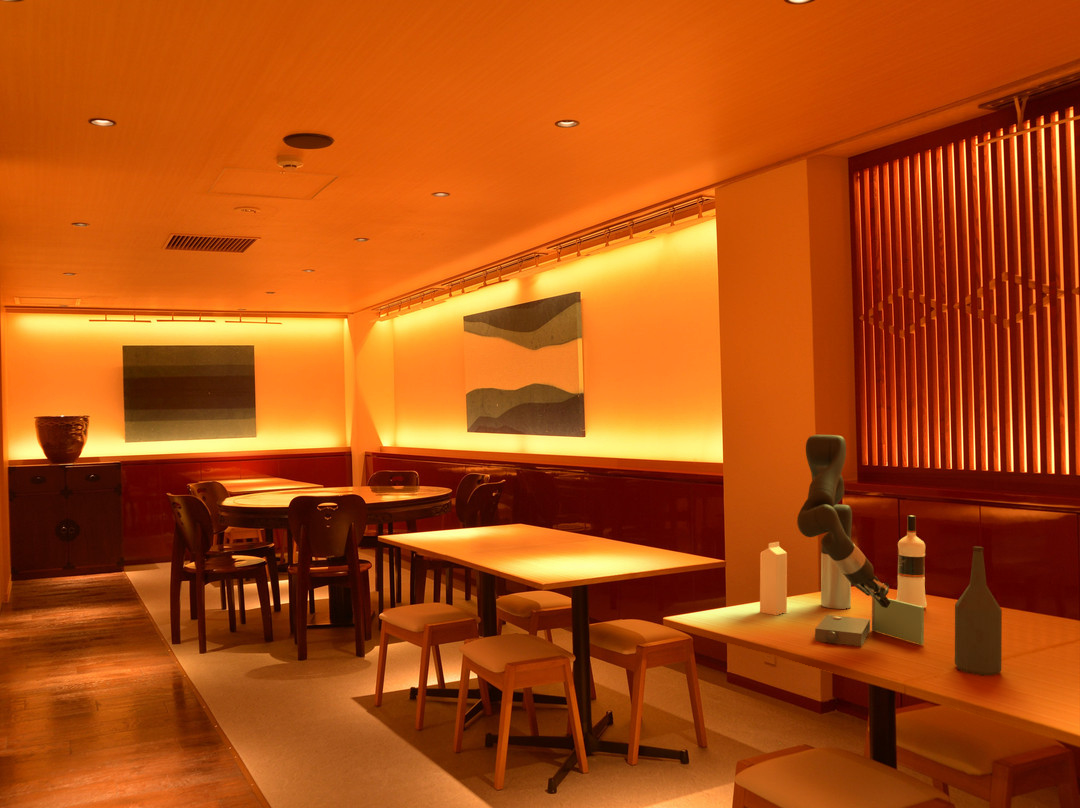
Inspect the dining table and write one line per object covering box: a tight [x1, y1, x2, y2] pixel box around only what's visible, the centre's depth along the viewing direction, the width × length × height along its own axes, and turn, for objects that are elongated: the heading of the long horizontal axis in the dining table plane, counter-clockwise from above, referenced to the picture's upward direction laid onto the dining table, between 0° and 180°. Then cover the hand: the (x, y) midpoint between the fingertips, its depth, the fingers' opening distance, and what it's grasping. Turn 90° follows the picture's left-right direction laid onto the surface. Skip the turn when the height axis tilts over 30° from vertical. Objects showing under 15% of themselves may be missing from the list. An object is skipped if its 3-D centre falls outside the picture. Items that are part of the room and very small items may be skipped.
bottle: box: [954, 546, 1003, 676], centre depth 218 cm, size 10×10×30 cm
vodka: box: [895, 515, 928, 608], centre depth 292 cm, size 9×9×30 cm
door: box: [871, 597, 925, 645], centre depth 250 cm, size 18×1×10 cm, turn 24°
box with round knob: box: [814, 614, 871, 647], centre depth 250 cm, size 22×12×4 cm, turn 154°
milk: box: [759, 541, 788, 616], centre depth 281 cm, size 6×6×22 cm
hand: (886, 605), depth 245 cm, fingers closed
